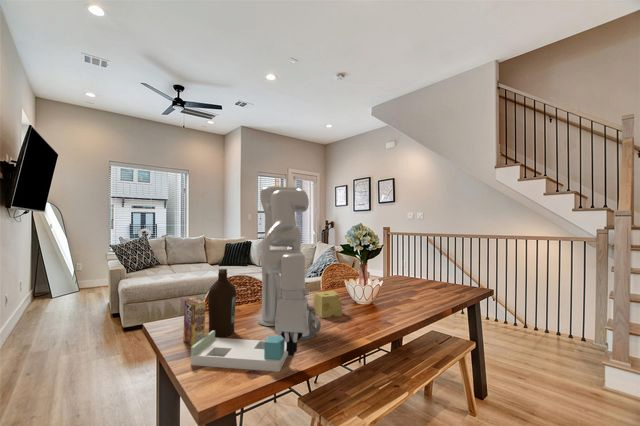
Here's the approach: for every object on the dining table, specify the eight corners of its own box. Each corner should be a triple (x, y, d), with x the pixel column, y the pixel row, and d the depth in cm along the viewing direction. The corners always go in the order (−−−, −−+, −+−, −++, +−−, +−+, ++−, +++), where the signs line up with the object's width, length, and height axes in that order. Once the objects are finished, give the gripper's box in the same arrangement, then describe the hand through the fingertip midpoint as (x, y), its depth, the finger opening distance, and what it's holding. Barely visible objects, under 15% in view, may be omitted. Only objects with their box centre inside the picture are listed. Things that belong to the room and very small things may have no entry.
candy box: (205, 344, 108) (206, 301, 108) (193, 347, 104) (194, 303, 105) (194, 337, 114) (195, 296, 114) (182, 340, 111) (183, 299, 111)
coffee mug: (284, 334, 118) (285, 308, 118) (304, 328, 125) (305, 304, 125) (305, 345, 108) (306, 317, 108) (326, 338, 115) (326, 311, 115)
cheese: (342, 316, 141) (342, 295, 141) (320, 319, 137) (321, 297, 137) (333, 310, 150) (333, 290, 150) (313, 312, 146) (313, 291, 146)
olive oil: (205, 339, 112) (207, 272, 112) (208, 329, 122) (210, 267, 123) (235, 337, 114) (236, 271, 115) (235, 327, 125) (237, 266, 125)
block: (269, 351, 96) (269, 335, 96) (284, 352, 95) (284, 336, 95) (264, 358, 91) (264, 342, 91) (280, 360, 90) (280, 343, 90)
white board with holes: (212, 346, 106) (212, 330, 106) (289, 351, 103) (289, 335, 103) (190, 365, 92) (190, 347, 92) (279, 371, 89) (279, 353, 89)
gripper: (318, 291, 95) (317, 350, 95) (272, 290, 97) (271, 347, 97) (315, 298, 88) (314, 361, 88) (265, 295, 90) (264, 357, 89)
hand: (291, 353), depth 92 cm, fingers closed
